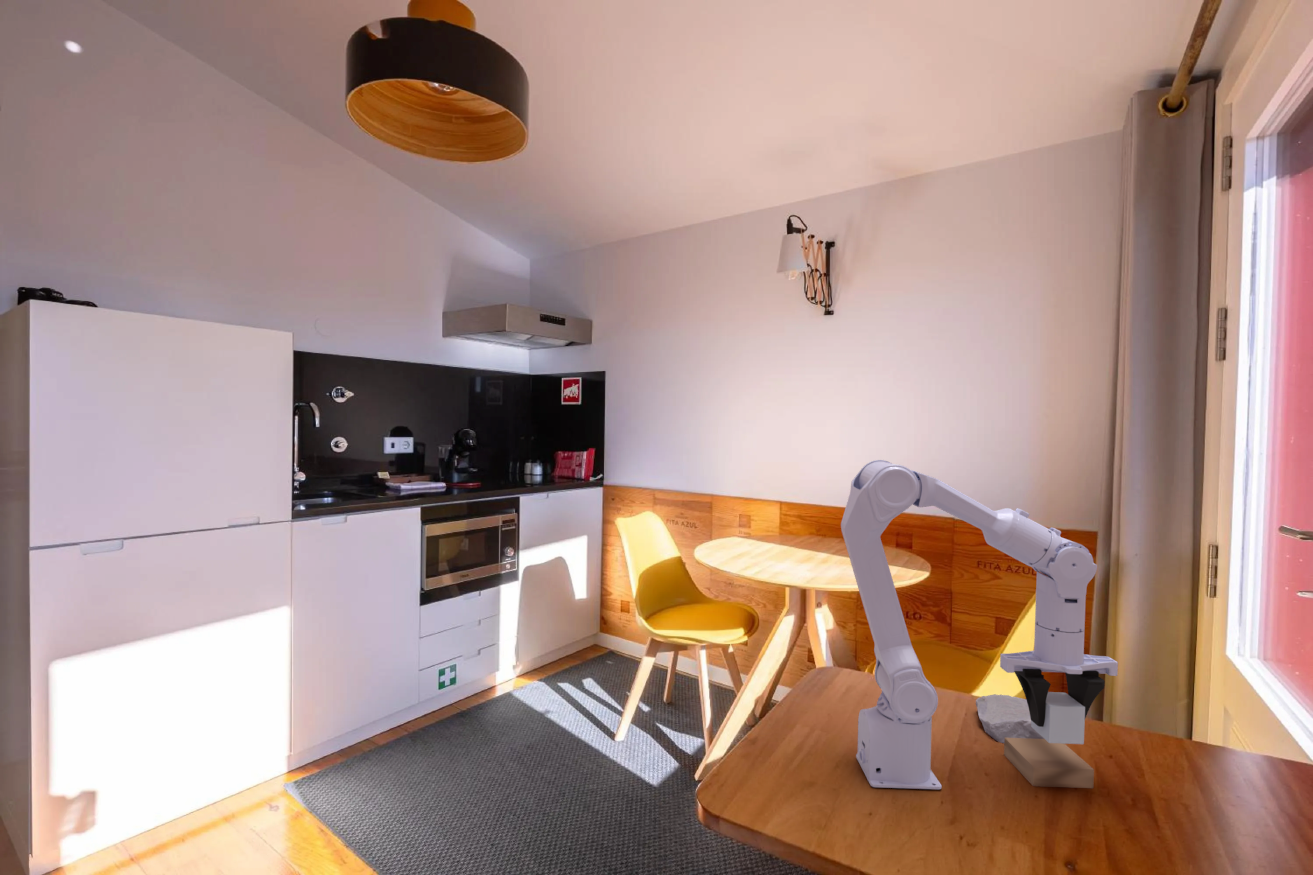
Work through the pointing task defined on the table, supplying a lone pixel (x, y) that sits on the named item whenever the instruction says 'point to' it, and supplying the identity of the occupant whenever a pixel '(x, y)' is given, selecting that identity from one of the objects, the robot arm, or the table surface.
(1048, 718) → the light grey block
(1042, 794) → the table surface
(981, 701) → the stone block
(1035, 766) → the tan square block
